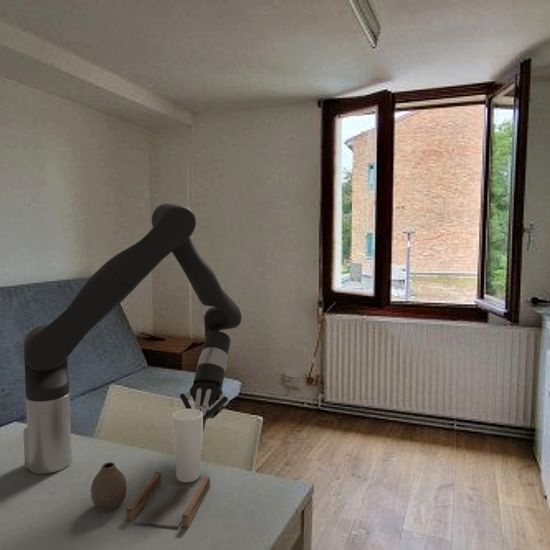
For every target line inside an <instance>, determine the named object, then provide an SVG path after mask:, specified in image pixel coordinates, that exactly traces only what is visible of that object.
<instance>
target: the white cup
mask: <svg viewBox="0 0 550 550" xmlns="http://www.w3.org/2000/svg"><path fill="white" fill-rule="evenodd" d="M203 435H204V431H203V413H202V412H201V411H200V410H197V409H195V408H192V409H186V408H184V409H180V410H177V411H175V412H174V413H173V414H172V440H173V447H174V458H175V460H174V462H175V477H176V480H178V481H179V483H184V484H185V483H187V484H188V483H189V484H190V483H193V482H196V481H197V480H198V479H199V478H200V475H201V459H202V449H203V447H202V446H203Z"/></svg>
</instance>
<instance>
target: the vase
mask: <svg viewBox="0 0 550 550" xmlns="http://www.w3.org/2000/svg"><path fill="white" fill-rule="evenodd" d="M127 486H128V484H127V480H126V476H125V475H124V473H123V472H122V471H121V470H120V469H119V468H118V467H117V466H116V463H114V462H110V461H109V462H105V463H103V464H102V466H101V467H100V470H99V471H98V472H97V473H96V475H95V476H94V478H93V480H92V483H91V487H90V498H91V501H92V503H93V505H94V508H96V509H97V510H99V511H101V512H103V513H104V512H105V513H107V512H113V511H115V510H117V509H118V508H119V507H121V505H122V504H123V503H124V501H125V499H126V496H127V489H128V487H127Z"/></svg>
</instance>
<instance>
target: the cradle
mask: <svg viewBox="0 0 550 550" xmlns="http://www.w3.org/2000/svg"><path fill="white" fill-rule="evenodd" d="M210 488H211V476H208V475H207V476H203V478H202V480H201V481H200V483H199V485H198V487H196V488H195V487H188V486H187V487H186V486H175V485H163V484H162V471H155V472H154V474H153V475H152V476H151V477H150V478H149V480H148V481H147V483H146V484H144V486H143V487H142V489H141V490H140V491H139V493H138V494H137V495H136V496H135V498H134V499H133V500H132V502H131V503H130V504H129V505H128V507H126V521H127V522H132V523H133V522H134V524H136V525H144V526H153V527H161V528H162V527H163V528H171V529H180V527H182V528H185V529H186V528H188V529H189V528H190V526H191V524H192V522H193V520H194V518H195V517H196V514H197V513H198V512H199V509H200V507H201V505H202V504H203V501H204V500H205V498H206V496H207V494H208V491H209V490H210ZM181 525H182V526H181Z"/></svg>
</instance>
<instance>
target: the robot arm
mask: <svg viewBox="0 0 550 550" xmlns="http://www.w3.org/2000/svg"><path fill="white" fill-rule="evenodd" d="M151 225H152V229H150V230H149V232H148V233H146V235H144V236H143V237H142V238H141V239H140V240H139V241H137V242H136V243H134V244H131V246H129V247H127V248H125V249H124V250H122V251H120V252H118V253H117V254H116V255H115V254H114V256H112V257H111V258H110V259H108V260H107V261H106V262H105V263H103V265H102V266H100V268H98V269H97V271H95V272H94V273H93V274H92V276H91V277H89V279H88V280H87V281H86V282H85V283H84V285H83V286H82V288H80V290H79V292H78V293H77V294H76V295H75V297H74V298H73V300H72V301H71V303H70V304H69V305H68V306H67V308H66V309H65V310H64V311H62V313H61V314H60V315H59V316H57V317H56V318H55V319H54V320H52V321H51V322H50V323H49V324H44V325H39V326H36V327H34V328H33V329H31V330H30V331H29V333H28V334H26V337H25V339H24V341H23V357H24V360H23V361H24V362H23V363H24V384H25V385H24V386H25V387H24V389H25V390H24V391H25V406H26V407H25V408H26V409H25V410H26V427H24V429H23V432H22V434H23V435H22V436H23V454H24V455H23V456H24V469H25V470H29V472H31V473H33V474H36V475H37V474H38V475H45V474H52V473H56V472H58V471H62V470H63V469H65V468H67V467H68V466H69V465H70V464H71V463H72V461H73V460H72V431H71V430H72V429H71V428H72V427H71V402H70V401H71V399H70V398H71V397H70V396H71V395H70V378H69V366H68V365H69V364H68V361H69V359H68V357H69V356H70V355H71V353H73V351H74V350H75V349H76V347H78V345H79V344H80V343H81V342H82V340H83V339H84V338H85V337H86V335H88V333H89V332H90V331H91V330H93V328H94V327H95V326H96V325H98V323H100V322H101V321H102V320H104V318H106V317H107V316H108V315H109V314H110V313H111V312H112V311H113V310H115V308H116V307H118V306H119V305H120V303H122V302H123V301H124V300H125V299H126V297H128V296H129V295H130V294H131V293H132V292H133V291H134V290H135V289H136V288H137V287H138V285H140V284H141V282H143V280H144V279H146V277H148V275H149V274H150V273H152V271H153V270H154V269H156V267H157V266H158V265H159V264H160V263H161V261H163V260H164V259H165V258H166V257H167V256H169V255H170V254H171V253H172V255H173V256H174V258H175V259H176V261H177V262H178V263H179V266H180V268H181V269H182V271H183V273H184V274H185V276H186V278H187V280H188V282H189V283H190V285H191V287H192V289H193V291H194V293H195V295H196V296H197V299H198V301H199V302H200V303H201V305H203V306H205V307H209V308H208V309H207V310H206V312H205V314H204V316H203V322H204V323H203V324H204V341H203V346H202V350H201V353H200V355H199V358H198V363H197V365H196V366H197V367H196V370H195V374H194V379H193V383H192V385H191V387H190V388H189V391H188V392H186V393H184V392H183V393H181V394H180V395H179V398H180V400H181V401H182V403H183V405H184V408H185V409H193V408H192V406H191V404H190V402H191V398H192V400H193V402H194V409H197V410H200V411H201V412H202V413H203V432H204V431H205V428H206V423H207V420H208V419H214V418H215V417H217V415H218V414H220V413H221V412H222V411H223V410H224V409H225V408H226V407H227V406H228V405H229V404H230V401H229V398H228V396H225V395H224V393H223V386H224V385H223V384H224V380H225V374H226V371H227V363H228V355H229V350H230V345H231V337H230V336H229V335H228V334H227V333H226V332H223V331H225V330H230V329H232V330H233V329H235V328H238V327H239V326H240V324H241V322H242V312H241V309H240V308H239V306H238V304H236V302H235V301H234V300H233V298H231V297H230V296H229V294H227V293H226V292H225V290H224V289H223V288H222V286H221V284H220V282H219V280H218V278H217V276H216V275H215V273H214V271H213V269H212V268H211V266H210V265H209V264H208V262H207V261H206V260H205V258H204V257H203V256H202V255H201V253H200V252H199V251H198V249H197V248H196V246H195V244H194V242H193V241H192V238H191V236H192V235H193V233H194V232H195V229H196V227H197V220H196V215H195V214H194V211H192V210H191V208H188V207H187V206H183V205H180V204H177V203H163V204H160V205H158V206H157V207H156V208H155V209H154V210H153V212H152V215H151Z"/></svg>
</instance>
